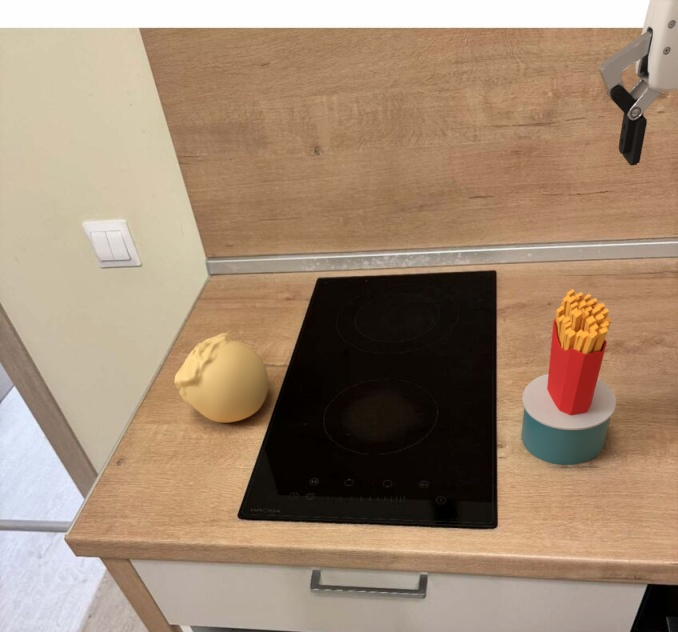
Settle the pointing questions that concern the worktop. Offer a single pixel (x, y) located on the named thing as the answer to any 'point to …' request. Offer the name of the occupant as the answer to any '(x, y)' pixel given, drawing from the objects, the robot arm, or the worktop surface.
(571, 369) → the french fries
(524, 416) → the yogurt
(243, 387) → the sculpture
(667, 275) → the worktop surface
